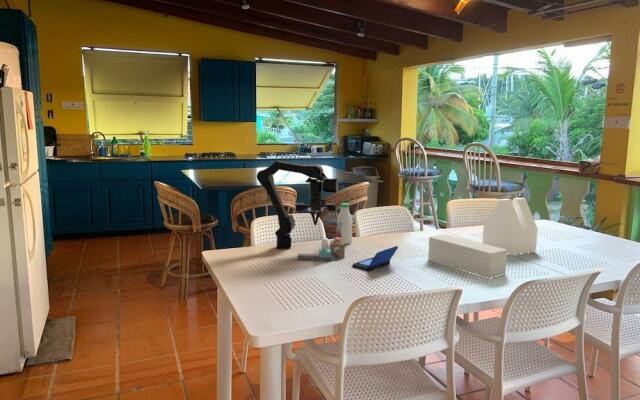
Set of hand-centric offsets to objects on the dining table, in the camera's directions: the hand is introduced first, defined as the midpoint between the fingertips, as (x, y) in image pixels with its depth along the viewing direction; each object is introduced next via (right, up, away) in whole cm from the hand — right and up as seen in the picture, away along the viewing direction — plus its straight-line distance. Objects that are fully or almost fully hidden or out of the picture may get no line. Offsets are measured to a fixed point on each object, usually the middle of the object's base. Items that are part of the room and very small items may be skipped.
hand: (315, 225), depth 234 cm
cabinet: (+10, -13, -7) cm, 18 cm away
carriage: (+4, -13, -14) cm, 19 cm away
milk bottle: (+14, -10, +16) cm, 24 cm away
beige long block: (+64, -17, -21) cm, 70 cm away
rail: (0, -15, -14) cm, 20 cm away
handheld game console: (+26, -17, -23) cm, 38 cm away
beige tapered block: (+95, -13, +10) cm, 96 cm away
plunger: (+10, -10, -7) cm, 16 cm away
